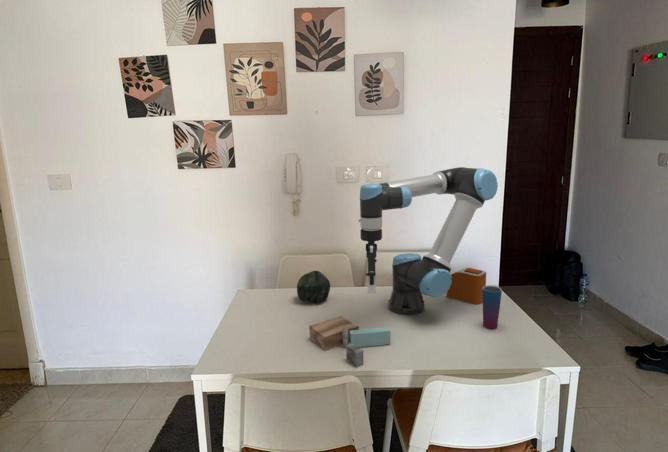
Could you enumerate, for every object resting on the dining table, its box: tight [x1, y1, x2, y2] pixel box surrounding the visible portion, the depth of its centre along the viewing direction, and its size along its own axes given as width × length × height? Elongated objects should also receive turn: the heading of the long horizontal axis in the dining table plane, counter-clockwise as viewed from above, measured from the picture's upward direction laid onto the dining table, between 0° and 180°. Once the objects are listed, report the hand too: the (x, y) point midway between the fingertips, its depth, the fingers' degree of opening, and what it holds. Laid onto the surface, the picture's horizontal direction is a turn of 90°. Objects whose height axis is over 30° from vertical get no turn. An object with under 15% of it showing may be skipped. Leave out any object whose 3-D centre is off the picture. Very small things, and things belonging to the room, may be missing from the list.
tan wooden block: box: [308, 315, 364, 368], centre depth 150 cm, size 26×14×7 cm, turn 33°
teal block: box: [349, 326, 391, 348], centre depth 151 cm, size 14×3×5 cm, turn 98°
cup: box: [482, 285, 503, 330], centre depth 161 cm, size 7×7×15 cm
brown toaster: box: [446, 267, 487, 305], centre depth 189 cm, size 15×8×14 cm, turn 47°
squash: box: [296, 270, 331, 304], centre depth 192 cm, size 14×15×15 cm
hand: (371, 286), depth 155 cm, fingers open, 13 cm apart
